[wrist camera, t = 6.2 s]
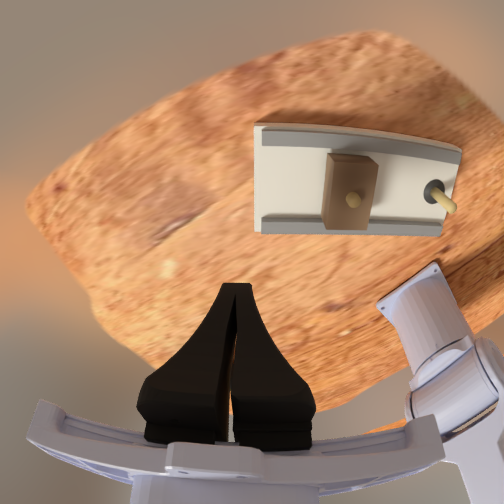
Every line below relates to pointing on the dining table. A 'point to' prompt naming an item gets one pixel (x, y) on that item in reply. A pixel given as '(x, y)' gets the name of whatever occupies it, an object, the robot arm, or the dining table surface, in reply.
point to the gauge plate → (355, 143)
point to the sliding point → (348, 191)
